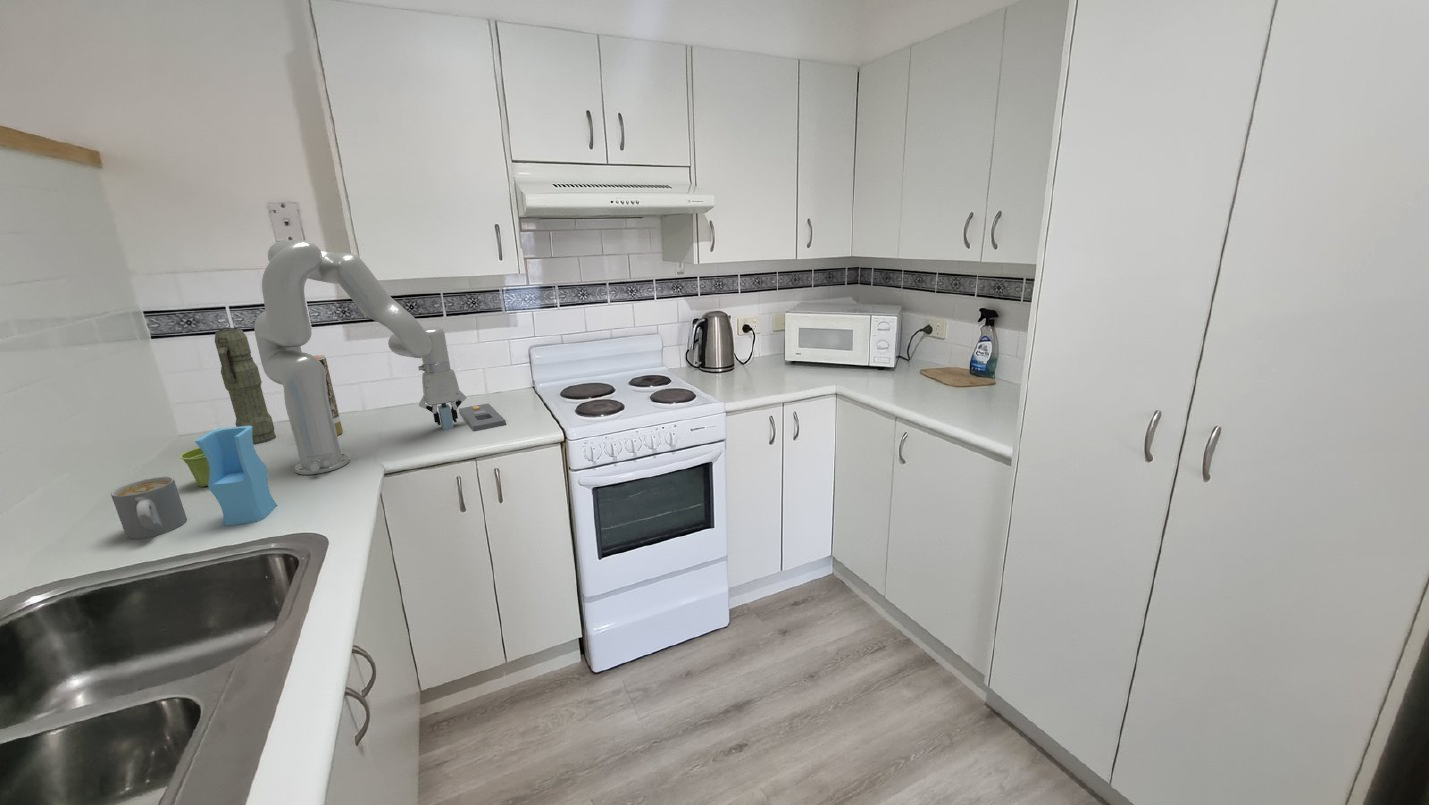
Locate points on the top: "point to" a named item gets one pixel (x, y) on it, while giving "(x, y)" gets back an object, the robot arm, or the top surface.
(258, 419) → the olive-green tall carved figure
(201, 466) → the plant pot
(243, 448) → the blue toy armchair
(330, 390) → the paper tube
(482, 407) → the plate
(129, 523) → the coffee mug
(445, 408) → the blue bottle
